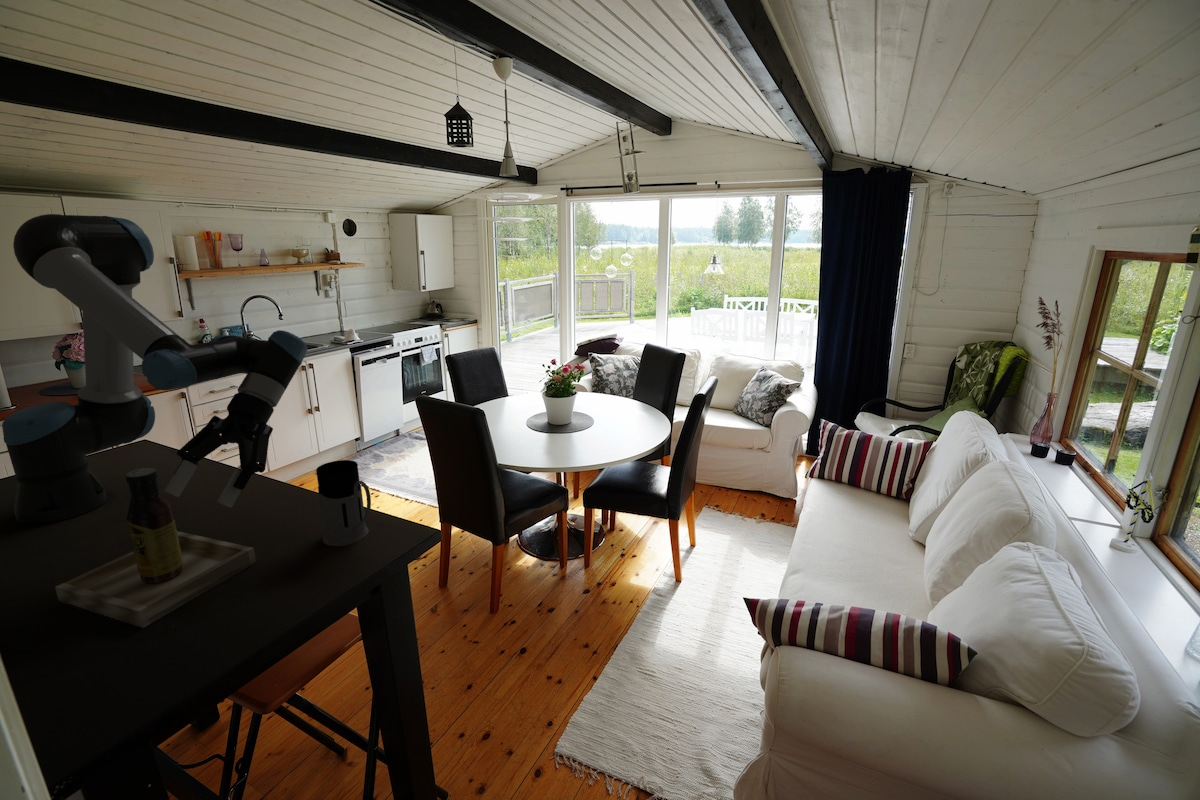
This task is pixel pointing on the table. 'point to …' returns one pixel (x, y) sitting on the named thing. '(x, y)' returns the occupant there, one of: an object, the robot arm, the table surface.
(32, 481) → the robot arm
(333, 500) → the glass holder
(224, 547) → the birch tray
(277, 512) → the table surface
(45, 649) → the table surface
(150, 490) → the sauce bottle
